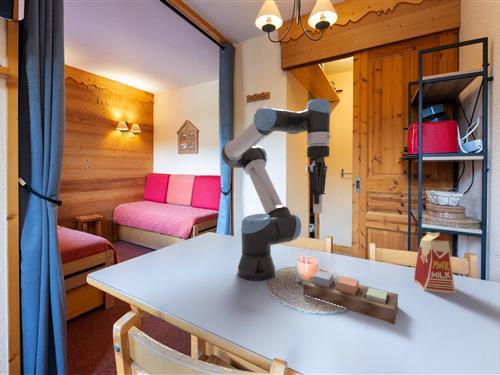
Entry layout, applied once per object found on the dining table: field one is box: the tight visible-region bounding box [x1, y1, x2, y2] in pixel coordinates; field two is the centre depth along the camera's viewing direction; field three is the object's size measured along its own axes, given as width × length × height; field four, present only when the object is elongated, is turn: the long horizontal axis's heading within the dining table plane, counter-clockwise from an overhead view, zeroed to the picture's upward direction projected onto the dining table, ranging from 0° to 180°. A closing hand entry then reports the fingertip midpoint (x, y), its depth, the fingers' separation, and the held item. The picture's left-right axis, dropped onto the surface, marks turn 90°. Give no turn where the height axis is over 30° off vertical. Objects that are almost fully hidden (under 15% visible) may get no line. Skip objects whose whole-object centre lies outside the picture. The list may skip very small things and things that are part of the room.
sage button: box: [366, 286, 389, 304], centre depth 71 cm, size 5×5×4 cm
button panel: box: [302, 276, 399, 325], centre depth 76 cm, size 26×10×4 cm, turn 54°
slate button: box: [313, 270, 334, 288], centre depth 80 cm, size 5×5×4 cm
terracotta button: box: [338, 275, 360, 296], centre depth 75 cm, size 5×5×4 cm
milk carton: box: [413, 231, 457, 295], centre depth 84 cm, size 9×9×20 cm
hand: (317, 212), depth 85 cm, fingers closed
